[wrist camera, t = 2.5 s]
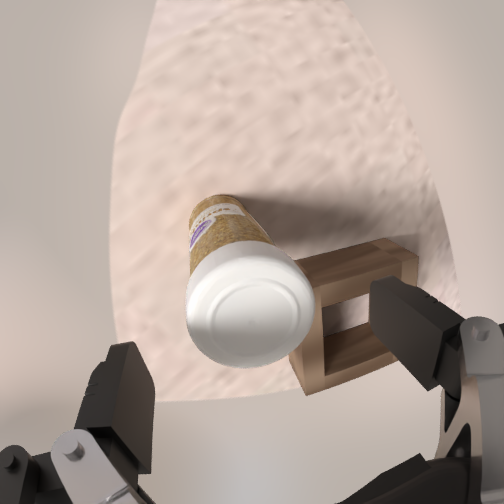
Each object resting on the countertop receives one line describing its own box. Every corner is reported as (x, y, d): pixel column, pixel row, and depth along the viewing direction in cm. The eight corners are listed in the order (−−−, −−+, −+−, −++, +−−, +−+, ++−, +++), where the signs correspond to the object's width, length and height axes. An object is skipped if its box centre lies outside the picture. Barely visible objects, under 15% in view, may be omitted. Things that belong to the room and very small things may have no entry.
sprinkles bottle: (202, 184, 21) (216, 236, 9) (259, 208, 22) (342, 283, 10) (179, 241, 22) (168, 356, 10) (235, 261, 23) (283, 382, 11)
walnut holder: (275, 265, 24) (295, 292, 20) (384, 237, 25) (418, 256, 21) (289, 361, 28) (305, 395, 23) (381, 330, 29) (406, 356, 24)
